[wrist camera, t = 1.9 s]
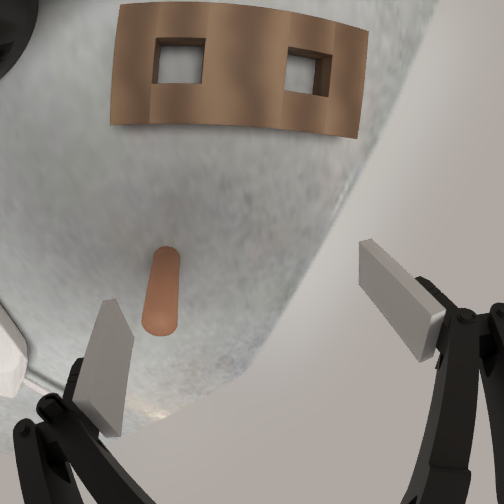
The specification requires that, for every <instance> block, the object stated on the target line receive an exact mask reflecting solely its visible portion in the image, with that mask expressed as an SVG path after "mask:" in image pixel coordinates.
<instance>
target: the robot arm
mask: <svg viewBox="0 0 504 504" xmlns="http://www.w3.org/2000/svg"><path fill="white" fill-rule="evenodd" d="M37 12H38V0H0V78H1V77H2V76H3V75H5V74H6V73H7V72H8V71H9V69H10V68H11V67H12V66H13V65H14V64H15V62H16V61H17V60H18V58H19V57H20V55H21V54H22V52H23V50H24V49H25V47H26V45H27V43H28V41H29V39H30V37H31V34H32V32H33V29H34V26H35V22H36V18H37ZM359 285H360V286H361V288H362V289H363V290H364V291H365V293H366V294H367V295H368V296H369V298H370V299H371V300H372V301H373V303H374V304H375V305H376V306H377V308H378V309H379V310H380V312H381V313H382V314H383V315H384V317H385V318H386V319H387V320H388V322H389V323H390V324H391V326H392V327H393V328H394V330H395V331H396V332H397V333H398V335H399V336H400V337H401V339H402V340H403V341H404V343H405V344H406V345H407V347H408V348H409V349H410V351H411V352H412V353H413V355H414V356H415V357H416V359H417V360H418V362H423V361H425V360H427V359H429V358H431V357H433V355H434V352H435V348H437V349H438V350H439V352H440V355H439V359H438V361H437V364H436V367H435V369H437V374H436V379H435V385H434V391H433V396H432V402H431V406H430V411H429V415H428V420H427V424H426V428H425V433H424V437H423V440H422V444H421V448H420V452H419V455H418V458H417V462H416V465H415V468H414V472H413V475H412V478H411V481H410V484H409V486H408V489H407V491H406V493H405V495H404V497H403V499H402V501H401V503H400V504H465V502H466V498H467V494H468V490H469V486H470V481H471V471H470V470H468V463H469V458H470V453H471V447H472V440H473V433H474V426H475V418H476V408H477V395H478V381H479V370H480V374H481V378H482V383H483V388H484V393H485V398H486V403H487V409H488V415H489V421H490V428H491V435H492V443H493V452H494V464H495V477H496V493H497V500H498V504H504V303H495V304H493V305H492V307H491V309H490V312H489V313H485V314H479V315H476V313H475V312H473V311H472V310H470V309H466V308H458V307H457V306H456V305H455V304H454V303H453V302H452V301H450V300H449V299H448V298H447V297H446V296H445V295H444V294H443V293H441V291H440V290H439V289H438V288H436V286H435V285H434V284H433V283H432V282H430V281H429V280H427V279H425V278H423V277H421V276H419V277H416V278H413V277H412V276H411V275H410V274H409V273H408V272H407V271H406V270H405V269H404V268H403V267H402V266H401V265H400V264H399V263H397V262H396V261H395V260H394V259H393V258H392V257H391V256H390V255H389V254H388V253H387V252H386V251H384V250H383V249H382V248H381V247H380V246H379V245H378V244H376V243H375V242H374V241H373V240H372V239H368V240H364V241H360V242H359ZM133 342H134V336H133V334H132V332H131V330H130V328H129V326H128V324H127V322H126V320H125V318H124V316H123V314H122V312H121V309H120V307H119V305H118V303H117V301H116V299H111V300H106V301H103V302H102V305H101V308H100V311H99V313H98V316H97V319H96V322H95V325H94V328H93V331H92V334H91V337H90V340H89V343H88V347H87V350H86V353H85V356H84V358H78V359H77V360H76V361H75V363H74V364H73V365H72V367H71V370H70V374H69V377H68V380H67V384H66V387H65V390H64V394H63V397H62V398H61V397H60V396H59V395H58V394H57V393H48V394H46V395H45V396H43V397H42V398H41V399H40V400H39V402H38V404H37V407H36V411H37V414H38V415H39V416H40V417H41V418H42V419H43V420H44V422H41V423H38V424H35V423H34V422H33V421H32V420H30V419H27V418H25V419H22V420H20V421H19V422H18V423H17V424H16V425H15V427H14V429H13V441H14V449H15V456H16V463H17V468H18V474H19V480H20V485H21V490H22V495H23V499H24V503H25V504H84V503H83V501H82V498H81V495H80V492H79V490H78V487H77V484H76V481H75V478H74V475H73V473H72V469H71V466H72V467H73V469H74V470H75V472H76V473H77V475H78V476H79V478H80V479H81V481H82V482H83V484H84V485H85V487H86V488H87V490H88V491H89V492H90V494H91V495H92V496H93V498H94V499H95V501H96V502H97V504H156V503H155V502H154V501H153V500H152V499H151V498H150V497H149V496H148V495H147V494H146V493H145V492H144V491H143V490H142V488H141V487H140V486H139V485H138V484H137V483H136V482H135V481H134V480H133V479H132V478H131V476H129V474H128V473H127V472H126V471H125V470H124V468H122V466H121V465H120V464H119V463H118V461H117V460H116V459H115V458H114V457H113V456H112V454H111V453H110V452H109V450H108V449H107V448H106V447H105V445H104V444H103V443H102V441H101V440H100V439H99V438H98V436H99V431H100V432H101V433H102V434H103V435H104V436H105V437H106V438H107V437H121V430H122V420H123V411H124V403H125V395H126V387H127V380H128V373H129V366H130V360H131V354H132V348H133ZM69 462H70V463H69ZM70 464H71V466H70Z"/></svg>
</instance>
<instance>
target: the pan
mask: <svg viewBox="0 0 504 504" xmlns="http://www.w3.org/2000/svg"><path fill="white" fill-rule="evenodd" d="M27 362H28V357H27V345H26V340H25V339H24V337H23V336H22V334H21V333H20V331H19V330H18V328H17V327H16V325H15V324H14V323H13V321H12V320H11V318H10V317H9V316H8V314H7V313H6V311H5V310H4V309H3V307H2V306H1V305H0V396H4V397H9V398H14V397H15V396H16V394H17V393H18V392H19V390H20V387H21V385H22V383H24V384H25V385H26V386H28V387H30V388H31V389H33V390H35V391H37V392H38V393H40V394H42V395H44V396H45V395H46V394H48V393H54V392H52V391H50V390H49V389H47V388H45V387H43V386H41V385H40V384H38V383H36V382H34V381H33V380H31V379H28V378H27V377H25V374H26V368H27ZM59 396H60V395H59ZM60 397H61V398H62V396H60Z"/></svg>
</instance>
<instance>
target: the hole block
mask: <svg viewBox="0 0 504 504" xmlns="http://www.w3.org/2000/svg"><path fill="white" fill-rule="evenodd" d="M368 34H369V31H366V30H363V29H360V28H356V27H353V26H349V25H346V24H342V23H338V22H335V21H331V20H327V19H323V18H318V17H314V16H309V15H304V14H300V13H294V12H289V11H283V10H277V9H271V8H264V7H256V6H248V5H238V4H227V3H211V2H148V3H133V4H122V5H120V10H119V17H118V24H117V32H116V40H115V49H114V60H113V72H112V87H111V109H110V125H125V124H218V125H237V126H252V127H265V128H276V129H286V130H295V131H304V132H312V133H320V134H327V135H334V136H341V137H347V138H353V139H357V137H358V130H359V122H360V115H361V107H362V98H363V90H364V80H365V70H366V59H367V47H368ZM161 46H204V56H203V66H202V78H201V84H180V83H166V84H157V83H158V70H159V59H160V48H161ZM287 54H288V55H295V56H301V57H306V58H311V59H316V66H315V76H314V86H313V95H311V94H304V93H298V92H291V91H284V83H285V73H286V63H287Z"/></svg>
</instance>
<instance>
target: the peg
mask: <svg viewBox="0 0 504 504" xmlns="http://www.w3.org/2000/svg"><path fill="white" fill-rule="evenodd" d="M179 267H180V256H179V253H178V252H177V251H176V250H175V249H174V248H172V247H167V246H166V247H161V248H159V249H158V250H157V251H156V252H155V254H154V257H153V262H152V267H151V271H150V276H149V282H148V287H147V292H146V298H145V303H144V309H143V315H142V325H143V327H144V329H145V330H146V331H147V332H148V333H150V334H152V335H155V336H167V335H170V334H171V333H173V332H174V331H175V330H176V328H177V320H178V289H179Z"/></svg>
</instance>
